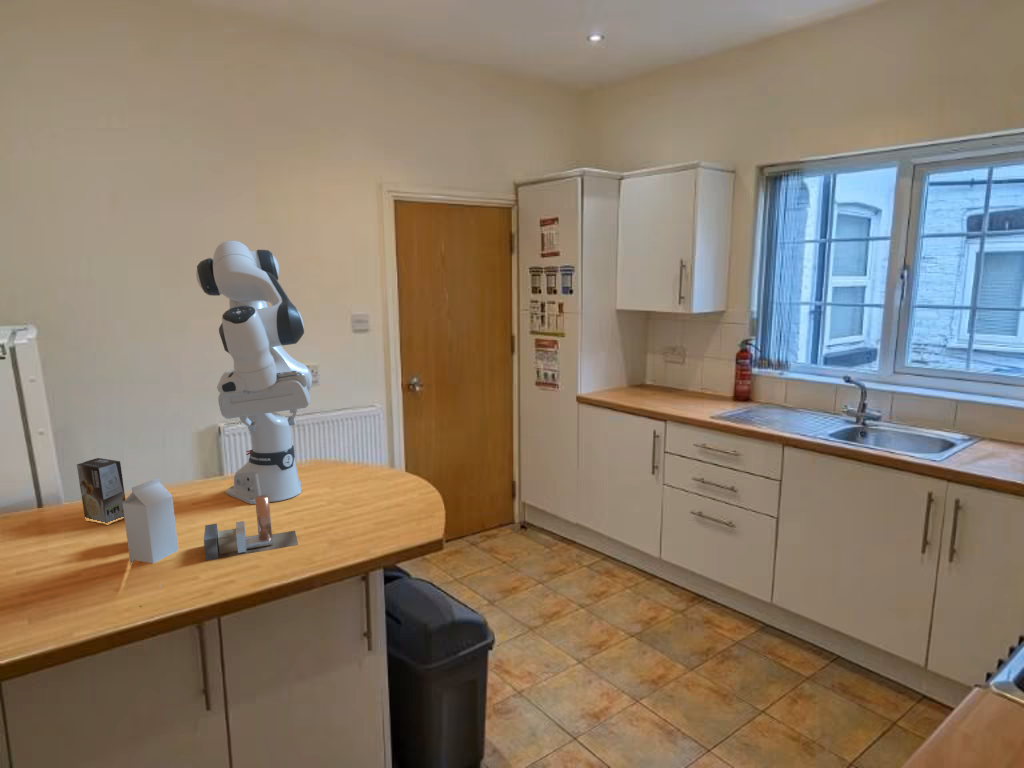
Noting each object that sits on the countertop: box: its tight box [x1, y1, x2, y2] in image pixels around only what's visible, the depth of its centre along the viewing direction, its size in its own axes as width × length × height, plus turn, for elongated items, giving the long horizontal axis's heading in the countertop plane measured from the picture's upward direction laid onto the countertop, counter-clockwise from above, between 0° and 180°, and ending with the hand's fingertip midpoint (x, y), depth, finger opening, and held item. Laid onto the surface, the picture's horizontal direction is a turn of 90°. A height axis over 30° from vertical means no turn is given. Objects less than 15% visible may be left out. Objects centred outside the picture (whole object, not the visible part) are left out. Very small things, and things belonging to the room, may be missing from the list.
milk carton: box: [123, 477, 179, 564], centre depth 147 cm, size 7×7×19 cm
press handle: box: [235, 495, 273, 553], centre depth 152 cm, size 8×8×11 cm
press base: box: [203, 523, 299, 562], centre depth 153 cm, size 20×9×6 cm, turn 113°
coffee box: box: [76, 457, 126, 523], centre depth 172 cm, size 9×6×16 cm
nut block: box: [218, 528, 238, 554], centre depth 151 cm, size 4×4×4 cm
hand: (273, 427), depth 155 cm, fingers open, 8 cm apart
